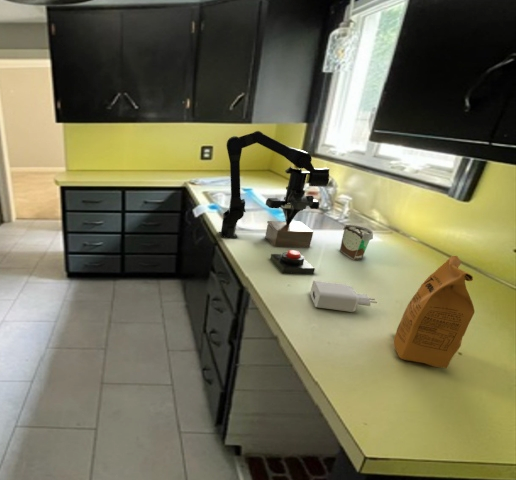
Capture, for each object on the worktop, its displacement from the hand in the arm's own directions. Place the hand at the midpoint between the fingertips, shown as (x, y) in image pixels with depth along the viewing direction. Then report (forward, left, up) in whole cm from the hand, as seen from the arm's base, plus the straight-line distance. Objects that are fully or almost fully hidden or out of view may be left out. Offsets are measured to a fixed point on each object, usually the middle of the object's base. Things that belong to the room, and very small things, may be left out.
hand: (287, 224), depth 146 cm
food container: (+15, +20, -7) cm, 26 cm away
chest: (+2, 0, -7) cm, 7 cm away
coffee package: (+74, +2, -7) cm, 75 cm away
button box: (+27, -8, -7) cm, 29 cm away
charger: (+53, -4, -7) cm, 54 cm away
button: (+27, -8, -3) cm, 29 cm away
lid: (+2, 0, -1) cm, 2 cm away
